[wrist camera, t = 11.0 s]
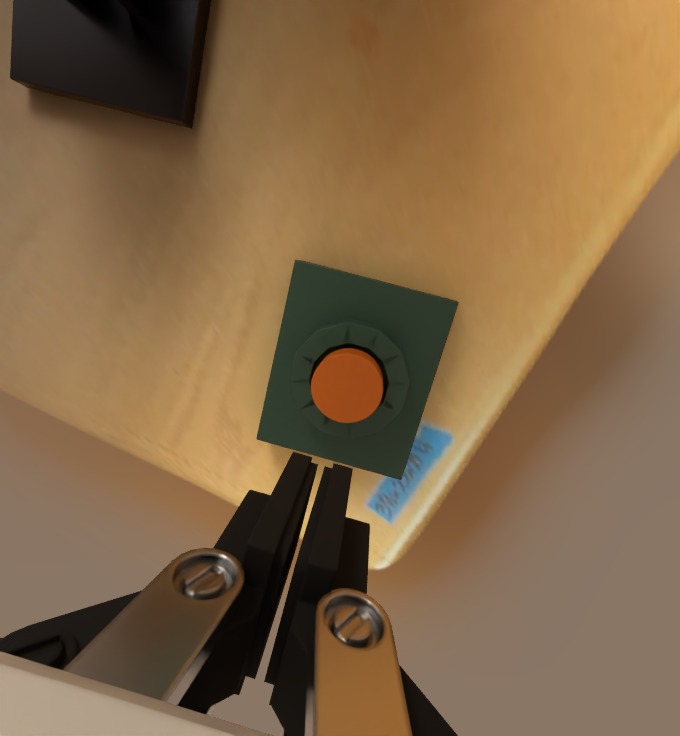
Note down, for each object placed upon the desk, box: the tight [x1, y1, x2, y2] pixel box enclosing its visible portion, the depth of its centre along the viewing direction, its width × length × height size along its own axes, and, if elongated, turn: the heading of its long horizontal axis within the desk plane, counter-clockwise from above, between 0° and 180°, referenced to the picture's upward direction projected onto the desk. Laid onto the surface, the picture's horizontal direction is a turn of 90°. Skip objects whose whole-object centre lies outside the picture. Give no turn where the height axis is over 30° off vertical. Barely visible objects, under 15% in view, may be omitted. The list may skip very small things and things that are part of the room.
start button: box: [311, 348, 383, 423], centre depth 23 cm, size 4×4×2 cm
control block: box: [257, 260, 458, 480], centre depth 26 cm, size 12×10×4 cm
